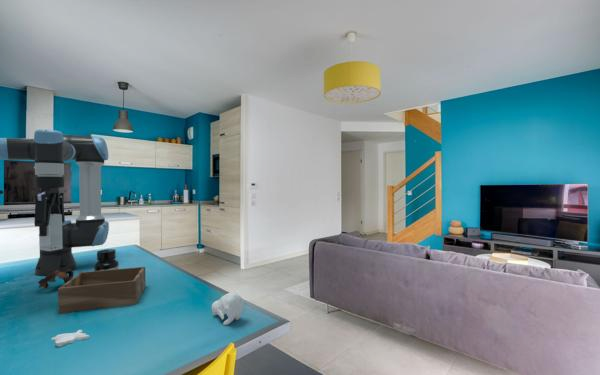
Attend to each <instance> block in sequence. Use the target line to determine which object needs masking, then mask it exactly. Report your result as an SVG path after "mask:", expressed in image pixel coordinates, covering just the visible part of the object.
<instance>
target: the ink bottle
mask: <svg viewBox="0 0 600 375" xmlns="http://www.w3.org/2000/svg"><path fill="white" fill-rule="evenodd" d="M116 251H117V250H116V249H114V248H107V249H100V250H98V251H96V260H97V262H95V263H94V265H93V266H94V267H93V271H101V270H112V269H120V267H119V266H120V264H119V261H118V260H117V256H116Z"/></svg>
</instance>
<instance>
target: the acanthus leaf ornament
mask: <svg viewBox="0 0 600 375" xmlns="http://www.w3.org/2000/svg"><path fill="white" fill-rule="evenodd" d="M90 338H91V337H90V335H89V334H87V333H86V332H85V333H84V332H83V329H78V330H77V331H76V332H70V333H69V332H68V333H61V334H57V335H56V336H53V337H51V338H50V341H54V344H55V346H56V347H57V348H59V347H63V346H66V345H67V344H72V343H74V342H75V341H85V340H88V339H90Z"/></svg>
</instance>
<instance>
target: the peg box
mask: <svg viewBox="0 0 600 375" xmlns="http://www.w3.org/2000/svg"><path fill="white" fill-rule="evenodd" d="M146 283H147V282H146V266H138V267H128V268H127V267H125V268H119V269H112V270H101V271H94V270H91V271H80V272H79V273H78V274H75V275H74V276H73V278H72V279H71V280H69V281H68V282H66V283H64V284H62V285H61V286H60V287H59V288H57V304H58V305H57V306H58V308H57V310H58V311H57V312H58V315H59V314H60V315H61V314H67V313H74V312H75V313H76V312H82V311H84V312H85V311H93V310H100V309H109V308H117V307H124V306H125V307H126V306H133V305H137V303H138V301H139V300H140V298H141V296H142V294H143V292H144V291H145V288H146V286H147V284H146Z"/></svg>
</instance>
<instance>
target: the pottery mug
mask: <svg viewBox="0 0 600 375" xmlns="http://www.w3.org/2000/svg"><path fill="white" fill-rule="evenodd" d="M74 276H75V274H74V270H66V271H64V272H60V271H59V270H56V271H54V272H53V273H51V274H49V275H45V277H44V278H41V279H40V280H39V281H37V283H38V284H39V286H38V288H39V289H41V288H44V289H46V288H47V289H48V288H49V287H50V284H49V283H54V282H56V281H57V280H56V278H58V279H61V280H63V282H64V284H65V283H66V282H68V281H69V280H71V279H72V278H73V277H74Z"/></svg>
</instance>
